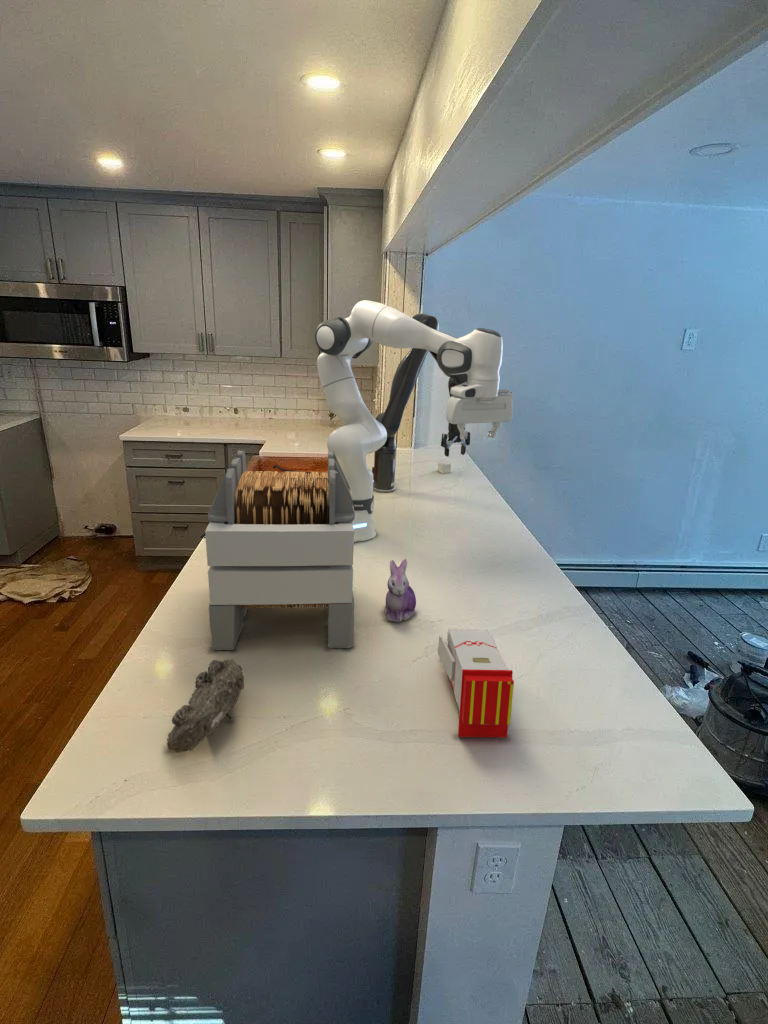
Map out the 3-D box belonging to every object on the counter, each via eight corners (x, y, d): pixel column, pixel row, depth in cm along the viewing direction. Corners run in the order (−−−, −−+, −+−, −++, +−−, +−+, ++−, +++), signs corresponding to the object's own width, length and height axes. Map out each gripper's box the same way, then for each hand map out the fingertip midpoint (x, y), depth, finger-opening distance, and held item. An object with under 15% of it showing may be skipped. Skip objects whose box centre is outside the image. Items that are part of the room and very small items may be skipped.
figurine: (392, 627, 141) (395, 572, 136) (374, 608, 149) (376, 556, 144) (425, 619, 145) (429, 566, 140) (405, 601, 154) (408, 550, 149)
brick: (450, 472, 278) (451, 464, 277) (442, 473, 277) (442, 464, 275) (445, 470, 282) (446, 461, 281) (437, 470, 281) (438, 462, 279)
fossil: (192, 660, 117) (244, 628, 112) (224, 691, 120) (276, 661, 115) (142, 746, 98) (202, 712, 93) (182, 779, 101) (242, 748, 96)
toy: (488, 613, 130) (523, 677, 101) (484, 667, 133) (517, 744, 104) (435, 612, 130) (455, 676, 101) (432, 666, 133) (451, 743, 103)
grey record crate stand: (230, 583, 159) (223, 441, 145) (347, 582, 163) (350, 443, 149) (209, 652, 127) (196, 479, 114) (354, 649, 131) (359, 480, 117)
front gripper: (506, 387, 166) (501, 434, 170) (445, 388, 158) (441, 437, 162) (519, 390, 160) (513, 438, 165) (456, 391, 152) (452, 442, 157)
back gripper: (465, 417, 259) (462, 452, 264) (439, 419, 253) (437, 454, 258) (475, 420, 253) (472, 455, 258) (448, 422, 246) (446, 458, 252)
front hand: (477, 438), depth 164 cm, fingers open, 8 cm apart
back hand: (454, 455), depth 258 cm, fingers open, 8 cm apart
